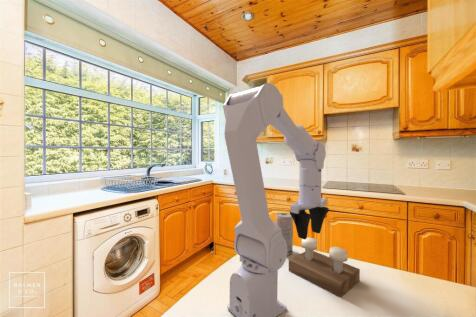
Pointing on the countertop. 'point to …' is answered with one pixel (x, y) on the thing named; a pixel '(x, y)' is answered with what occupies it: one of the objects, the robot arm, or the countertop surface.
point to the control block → (325, 273)
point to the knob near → (338, 258)
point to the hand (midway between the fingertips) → (309, 235)
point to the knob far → (309, 247)
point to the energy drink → (286, 229)
